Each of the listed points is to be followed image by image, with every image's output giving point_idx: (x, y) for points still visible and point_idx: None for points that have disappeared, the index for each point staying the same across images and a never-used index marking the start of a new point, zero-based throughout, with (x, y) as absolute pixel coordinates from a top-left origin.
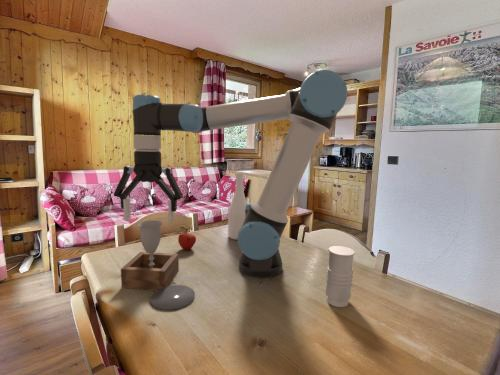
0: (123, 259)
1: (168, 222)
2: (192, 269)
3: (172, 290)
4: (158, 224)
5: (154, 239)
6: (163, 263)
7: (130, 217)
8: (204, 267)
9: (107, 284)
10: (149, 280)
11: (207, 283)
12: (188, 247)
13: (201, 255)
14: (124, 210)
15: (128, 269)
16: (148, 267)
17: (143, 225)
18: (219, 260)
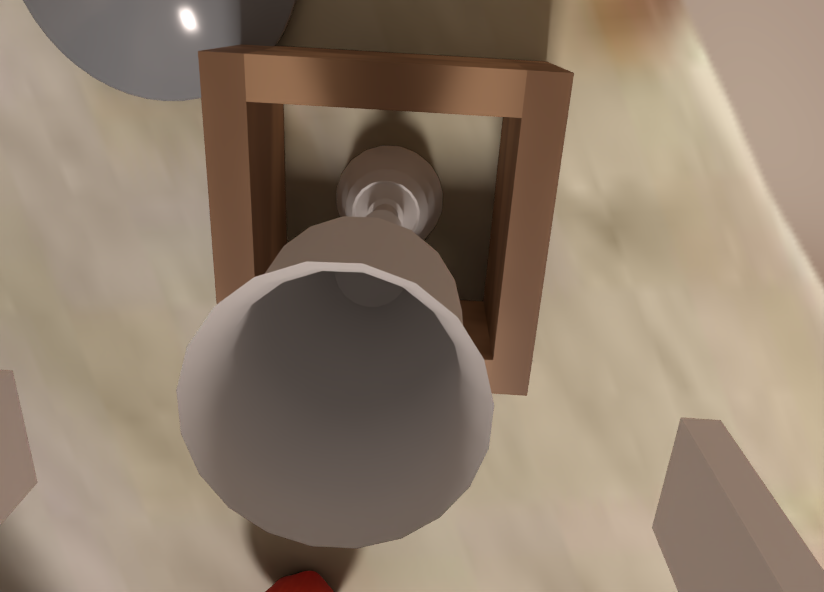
0: (669, 450)
1: (7, 373)
2: (175, 336)
3: (180, 20)
4: (277, 484)
5: (280, 255)
6: None
7: (657, 532)
8: (110, 364)
9: (661, 110)
10: (341, 54)
11: (8, 156)
12: (280, 582)
13: (189, 516)
14: (788, 542)
15: (506, 69)
16: None
17: (452, 442)
18: (52, 456)
